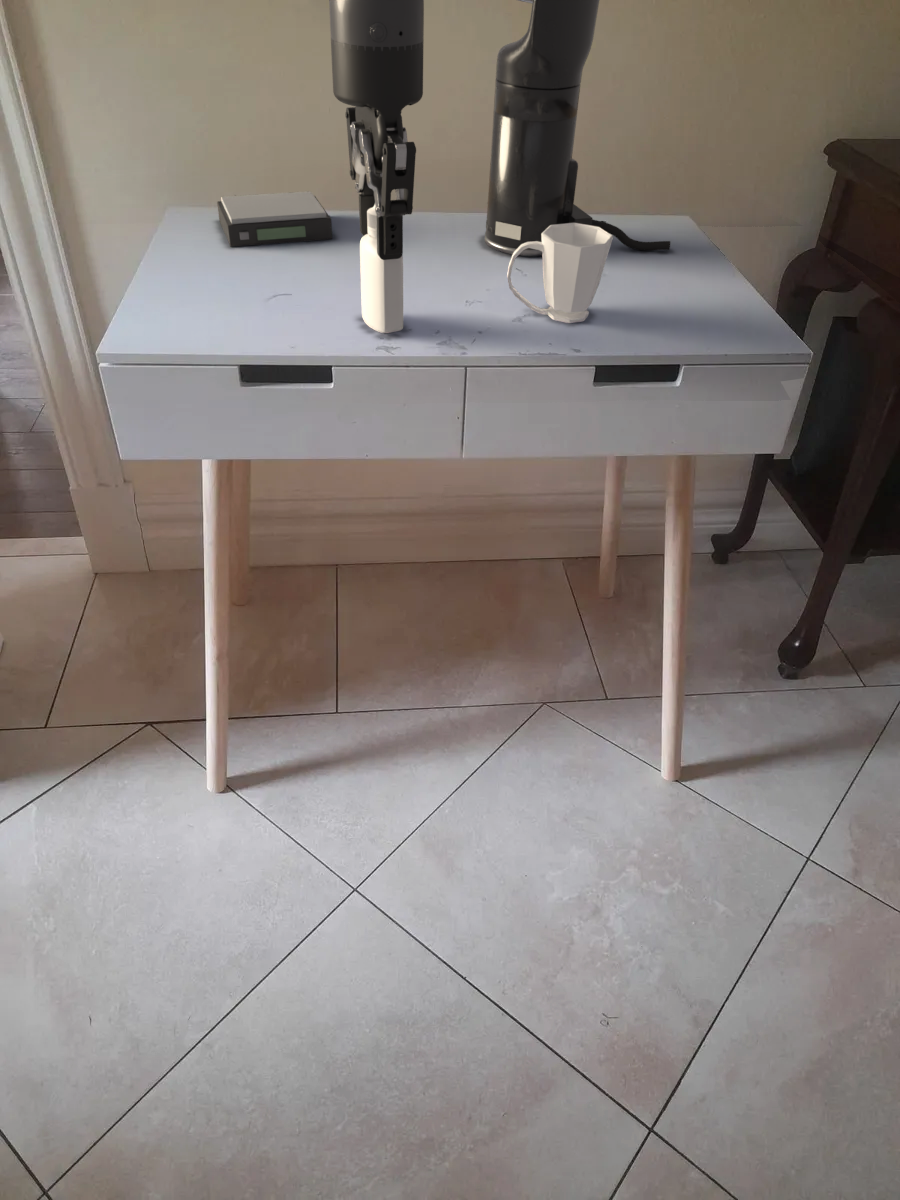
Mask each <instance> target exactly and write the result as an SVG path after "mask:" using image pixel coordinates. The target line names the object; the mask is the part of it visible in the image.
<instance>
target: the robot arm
mask: <svg viewBox="0 0 900 1200" xmlns="http://www.w3.org/2000/svg"><path fill="white" fill-rule="evenodd" d="M517 1H518V2H522V3H527V4H532V5H531V12H530V18H529V23H528V28H527V30H526V32H525V34H524V35H523V36H522V37H521V38H519V39H518V40H516V41H513V42H510V43H507V44H505V45H503V46H502V47H501V48H500V49H499V51H498V53H497V56H496V66H495V82H494V98H493V115H492V128H491V129H492V130H491V147H490V162H489V177H488V179H489V180H488V194H487V206H486V207H487V208H486V209H487V210H486V221H485V232H484V242H485V244H486V245H487V246H488V247H490V248H492V249H493V250H495V251H498V252H501V253H504V254H509V255H513V253H514V251H515V250H516V249H517V248H518V247H519V246H520V245H521V244H523V243H526V242H533V241H538V242H542V237H541V233H542V232H543V231H545V230H546V229H547V228H548V227H549V226H550V225H556V224H566V223H579V224H585V225H591V226H596V227H600V228H601V229H603V230H604V231H606V232H607V233H609V234H610V235H612V236H613V237H615V238H616V239H617V240H618V241H619V242H620V243H622V245H624V246H625V247H627V248H629V249H633V250H637V251H644V252H645V251H670V248H671V241H670V240H659V241H641V240H637V239H634V238H632V237H630V236H629V235H628V234H626V233H625V232H624V231H623V230H622V229H621V228H619V227H618V226H616V225H614V224H611V223H608V222H605V221H602V220H597V219H593V218H594V217H592V216H590V214H588V213H587V212H586V211H584V210H583V209H581V208H580V207H578V206H577V205H576V204H575V194H576V187H577V181H578V180H577V179H578V170H579V163H578V161H577V160H576V159H574V158H573V152H574V146H575V145H574V144H575V136H576V126H577V119H578V109H579V102H580V94H581V93H580V92H581V83H582V76H583V69H584V67H585V64H586V62H587V59H588V57H589V54H590V53H591V49H592V45H593V40H594V36H595V29H596V24H597V18H598V11H599V6H600V0H517ZM328 9H329V10H328V11H329V31H330V51H331V53H330V54H331V72H332V74H331V75H332V77H331V78H332V92H333V96H334V97H335V99H336V100H337V101H339V102H341V103H343V104H345V105H348V107H346V108H345V113H344V114H345V120H346V132H347V144H348V156H349V157H348V158H349V176H350V178H351V180H352V181H355V182H354V189H355V190H356V191H355V192H356V193H358V214H359V217H358V218H359V232H360V234H361V235H362V237H363V236H364V235H366V234H368V229H367V211H368V209H370V208H372V207H374V205H375V206H376V207H375V212H376V214H377V254H378V256H379V257H380V258H381V259H382V260H390V259H399V258H400V257H401V256H402V254H403V255H404V223H403V222H404V221H403V220H404V216H406V215H412V213H413V209H414V206H413V205H414V204H413V203H414V186H415V171H416V168H415V167H416V158H417V157H416V156H417V155H416V154H417V146H416V143H415V142H414V141H408V133H407V129H406V127H404V126H403V116H402V111H403V109H405V107H407V106H413V105H415V104H417V103H419V102H420V101H421V99H422V98H423V95H424V43H425V42H424V40H425V39H424V38H425V37H424V35H425V34H424V33H425V30H424V29H425V0H328ZM349 106H351V107H349ZM393 191H395V199H392V193H393ZM518 256H523V257H525V256H526V257H536V256H537V257H538V256H542V251H540V250H536V249H531V248H527V249H524V250H523V251H522V252H521V253H520V254H519V255H518Z"/></svg>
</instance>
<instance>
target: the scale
mask: <svg viewBox="0 0 900 1200" xmlns="http://www.w3.org/2000/svg"><path fill="white" fill-rule="evenodd" d="M216 204H217V205H216V206H217V212H218V219H219V223H220V226H221V228H222V230H223V232H224V235H225V238H226V240H227V241H228V244H229V246H230V247H231V248H232V247H246V246H258V245H259V246H260V245H270V244H271V245H272V244H284V243H298V242H311V241H324V240H332V239H333V230H332V229H333V228H332V218H331V216H330V215H329V214H328V212H327V211H326V209H325V208H324V206H323V205H322V204H321V202H320V201H319V200H318V198H317V197H316V195H315V194H313V192H312V191H311V190H308V191H307V190H305V191H292V192H289V191H288V192H277V193H273V192H272V193H260V194H243V195H227V196H224V195H223V196H220V200H219V201H216Z"/></svg>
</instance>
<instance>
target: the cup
mask: <svg viewBox="0 0 900 1200" xmlns="http://www.w3.org/2000/svg"><path fill="white" fill-rule="evenodd" d="M541 237H542V242H538V241H533V242H526V243H523V244H521V245H520V246H519V247H518V248H517V249H516V250H515V251H514V253H513V254H511V257H510V260H509V263H508V267H507V274H506V277H507V278H506V279H507V283H508V287H509V290H510V291H511V292H512V295H514V297H515V298H516V299H518V300H519V301H520V302H521V303H522V304H524V305H525V306H526V307H527V308H529V309H530V310H532V311H534V312H535V313H538V314H539V315H544V316H546V315H547V316H548V317H549V318H551V320H552V321H556V322H562V323H566V324H572V323H573V324H575V323H580V322H585V320H586V319H587V318H588V316H589V315H590V311H589V310H588V309H589V307H590V306H591V305H592V304H593V303H592V302H593V300H594V297H595V295H596V293H597V290H598V289H599V286H600V283H601V279H602V275H603V272H604V270H605V266H606V262H607V258H608V255H609V252H610V248H611V245H612V242H613V238H614V236H613V235H612V234H609V233H607V232H606V231H604V230H603V229H601V228H600V227H596V226H591V225H585V224H579V223H566V224H556V225H550V226H549V227H548V228H547V229H546V230H545V231H543V232H542V233H541ZM527 248H531V249H536V250H540V251H542V255H541V256H542V257H541V258H542V283H543V288H544V289H543V290H544V296H545V302H546V304H548V305H549V306H548V308H541V307H540V306H537V305H536V304H533V303H532V302H531V301H529V300H528V299H527V298H526V297H524V295H522V294H521V293H520V292H519V291H518V289H516V287H515V286H514V285H513V282H512V278H511V276H512V271H513V266H514V264H515V261H516V259H517V257H518V256H520V255H519V254H520V253H521V252H522V251H523V250H524V249H527Z"/></svg>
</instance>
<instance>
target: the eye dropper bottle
mask: <svg viewBox="0 0 900 1200" xmlns="http://www.w3.org/2000/svg"><path fill="white" fill-rule="evenodd" d="M375 207H376V206H375V205H374V207H372V208H370V209H368V211H367V229H368V234H366V235H364V236H363V235H362V237H361V239H360V241H359V268H360V269H359V270H360V271H359V272H360V294H361V295H360V302H361V317H362V320H363V321H364V323H365V324H366V326H368V327H369V328H370V329H372V330H374V331H375V332H378V333H380V334H391V333H395V332H400V331H402V330H403V328H404V253H403V254H402V256H401V257H400V258H399V259H390V260H382V259H381V258H380V257H379V256H378V254H377V214H376V212H375Z"/></svg>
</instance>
